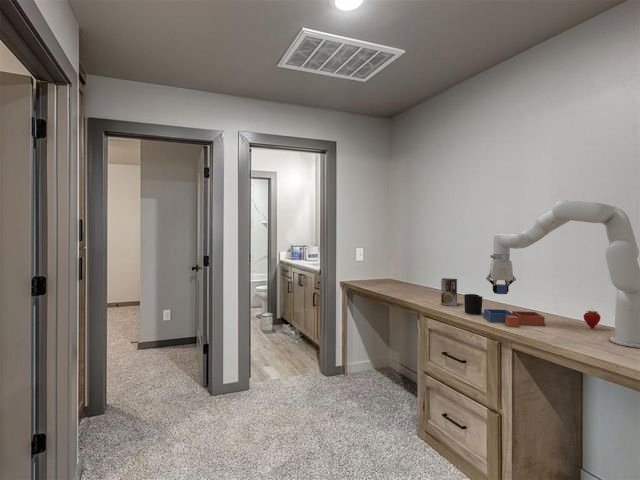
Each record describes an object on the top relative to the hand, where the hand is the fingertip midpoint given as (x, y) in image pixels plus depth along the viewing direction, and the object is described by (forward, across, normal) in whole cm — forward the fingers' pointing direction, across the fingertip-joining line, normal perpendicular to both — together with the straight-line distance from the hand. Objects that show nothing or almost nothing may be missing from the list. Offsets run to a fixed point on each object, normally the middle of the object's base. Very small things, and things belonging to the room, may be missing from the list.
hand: (500, 292), depth 191 cm
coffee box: (+15, -18, +39) cm, 45 cm away
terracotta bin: (+14, +12, -2) cm, 19 cm away
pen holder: (+15, -10, +16) cm, 23 cm away
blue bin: (+14, -1, +1) cm, 14 cm away
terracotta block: (+14, +2, -10) cm, 18 cm away
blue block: (0, 0, 0) cm, 0 cm away
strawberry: (+14, +38, -8) cm, 42 cm away
